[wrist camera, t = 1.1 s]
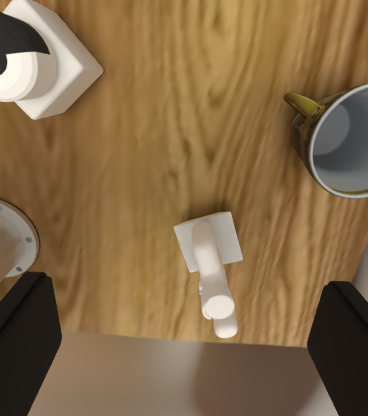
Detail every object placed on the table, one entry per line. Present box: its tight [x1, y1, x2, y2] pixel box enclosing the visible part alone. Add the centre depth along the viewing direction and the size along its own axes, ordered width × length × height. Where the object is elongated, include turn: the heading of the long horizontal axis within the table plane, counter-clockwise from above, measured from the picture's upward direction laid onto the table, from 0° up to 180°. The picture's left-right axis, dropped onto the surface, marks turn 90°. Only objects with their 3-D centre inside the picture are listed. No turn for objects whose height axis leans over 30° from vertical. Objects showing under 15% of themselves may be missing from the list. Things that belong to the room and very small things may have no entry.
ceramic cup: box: [284, 84, 368, 199], centre depth 28 cm, size 13×10×10 cm
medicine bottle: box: [0, 0, 104, 120], centre depth 25 cm, size 7×7×12 cm
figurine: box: [173, 212, 243, 338], centre depth 32 cm, size 7×9×15 cm
